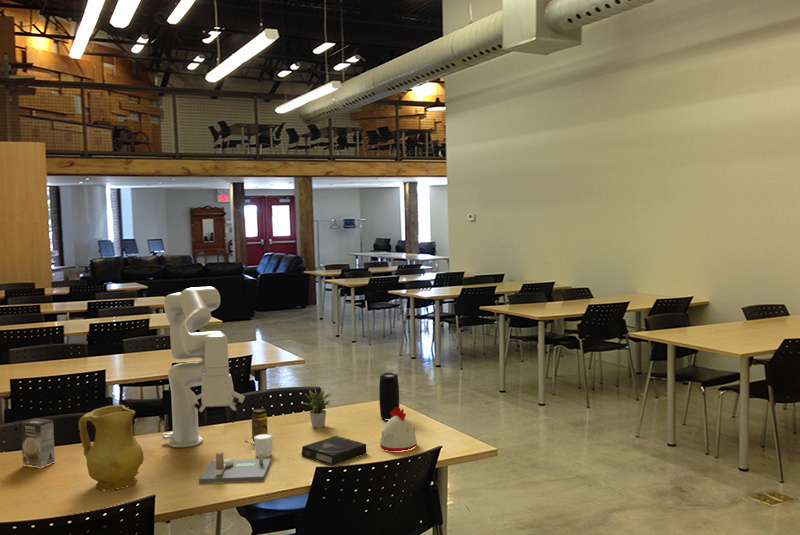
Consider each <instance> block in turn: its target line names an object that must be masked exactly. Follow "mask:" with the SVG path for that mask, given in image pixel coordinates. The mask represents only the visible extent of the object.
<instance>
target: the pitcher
mask: <svg viewBox="0 0 800 535" xmlns="http://www.w3.org/2000/svg"><path fill="white" fill-rule="evenodd" d="M135 415H136V411H135V410H133V409H129V408H126V406H125V405H124V404H118V405H116V404H115V405H107V406H103V407H99V408H95V409H93V410H92V411H90V412H87V413H85V414H84V415H83V416H82V417H80V418H79V420H78V430H79V437H80V441H81V445H82V448H83V455H84V457H85V459H86V468H87V472H88V475H89V477H90V479H93V480H94V481H95V482H97V483H95V487H96V488H97V490H100V489H101V490H100V491H103V490H112V489H117V488H121V489H123V488H122V487H125V488H128V487H127V486H129V487H131V486H133V485H135V484H136V483H137V482H138V480H137V478H136V476H137V475H139V473H140V472H139V469H140V467H141V465H142V464H143V462H144V451H143V449H142V447H141V445H140V443H139V442H138V440H136V438H135V436H134V434H133V430H132V418H133V417H134V416H135ZM87 422H91V423H92V425H93V426H94V429H95V436H94V441H93V443H92V444H91V440H90V436H89V433H88V430H87ZM130 485H131V486H130ZM112 491H113V490H112Z"/></svg>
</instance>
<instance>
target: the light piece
mask: <svg viewBox="0 0 800 535" xmlns="http://www.w3.org/2000/svg"><path fill="white" fill-rule="evenodd" d="M233 460H234V459H233V458H229V457H228V458H224V452H222V451H221V452H220V451H219V452H216V453H215V461H216V469H217V471H216V475H221V474H222V472H223V471H224V469H225V467H229V466H232V465H233Z"/></svg>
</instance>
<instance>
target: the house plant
mask: <svg viewBox="0 0 800 535" xmlns="http://www.w3.org/2000/svg"><path fill="white" fill-rule="evenodd" d="M325 391H326V389H323V388H321V389H320V392H319V393H318V392H317V389H316V388H314V392H315V393H314V392H313V391H311V389H309V394H310V395H308V394H306V393H304V395H305V396H306V398H308V400H309V401H310V403H308V402H304V403H302V405H307V406H310V407H311V408H312V410H310V411H309V417H310V421H311V422H310V423H311V427H312V428H313V427H316V428H317V429H320V428H319V427H321V428H324V427H325V426H326V425H325V423H326V416H327V410H325V409H324V408H325V407H326V406H329V407H331V404H330V401H331V399H330V400H327V398H329V397H331V396H332V394H333V392H335V391H331V392H328V393H327V394H325ZM326 400H327V401H326ZM323 426H324V427H323ZM316 428H315V429H316Z"/></svg>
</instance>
